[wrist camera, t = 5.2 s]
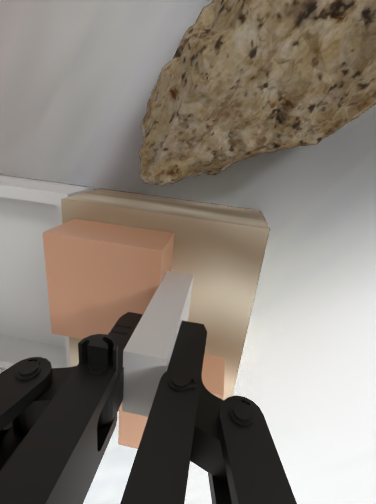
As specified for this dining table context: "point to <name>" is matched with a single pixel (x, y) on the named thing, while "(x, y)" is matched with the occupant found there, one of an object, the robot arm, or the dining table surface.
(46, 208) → the box
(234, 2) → the rock
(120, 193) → the board
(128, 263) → the tile
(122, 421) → the tile
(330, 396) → the dining table surface
